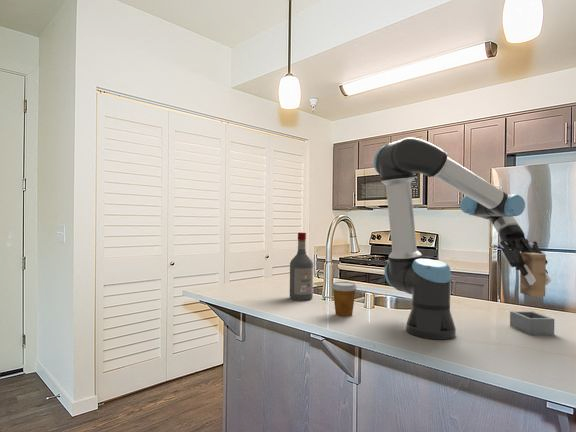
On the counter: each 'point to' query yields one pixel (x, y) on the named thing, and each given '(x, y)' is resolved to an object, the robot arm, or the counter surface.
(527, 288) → the tan tall block
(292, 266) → the liquor
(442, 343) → the counter surface
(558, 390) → the counter surface
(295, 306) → the counter surface
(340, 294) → the disposable coffee cup
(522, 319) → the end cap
